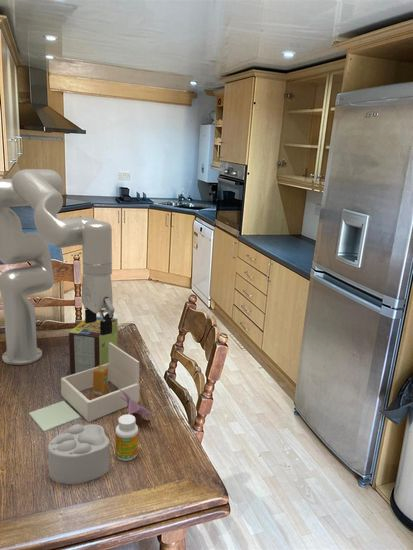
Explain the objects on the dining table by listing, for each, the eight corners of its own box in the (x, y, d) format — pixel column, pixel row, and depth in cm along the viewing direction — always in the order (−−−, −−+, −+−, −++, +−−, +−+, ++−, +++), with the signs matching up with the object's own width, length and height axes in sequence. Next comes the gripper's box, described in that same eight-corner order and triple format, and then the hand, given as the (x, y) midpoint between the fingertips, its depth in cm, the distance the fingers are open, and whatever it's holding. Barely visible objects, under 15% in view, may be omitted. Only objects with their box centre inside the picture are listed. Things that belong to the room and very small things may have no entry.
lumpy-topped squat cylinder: (112, 473, 98) (112, 441, 96) (53, 491, 92) (51, 457, 90) (100, 446, 107) (100, 415, 105) (45, 460, 101) (44, 428, 98)
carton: (61, 396, 127) (60, 356, 123) (110, 379, 138) (110, 342, 134) (88, 422, 115) (87, 379, 112) (139, 402, 126) (139, 362, 123)
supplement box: (103, 403, 125) (103, 372, 122) (92, 401, 125) (92, 370, 123) (108, 397, 128) (108, 366, 125) (97, 395, 129) (97, 364, 126)
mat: (28, 414, 118) (28, 412, 117) (63, 401, 124) (63, 400, 124) (44, 432, 111) (43, 430, 110) (80, 418, 117) (80, 416, 117)
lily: (154, 439, 112) (165, 403, 114) (111, 430, 107) (124, 392, 109) (139, 426, 123) (150, 393, 125) (100, 418, 118) (112, 383, 120)
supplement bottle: (119, 464, 101) (119, 428, 99) (112, 449, 106) (112, 415, 103) (140, 457, 104) (141, 422, 101) (133, 444, 108) (134, 410, 106)
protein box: (118, 359, 151) (118, 318, 147) (100, 381, 136) (99, 336, 132) (89, 355, 153) (89, 314, 148) (69, 376, 138) (67, 331, 134)
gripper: (71, 262, 118) (73, 320, 123) (98, 278, 106) (99, 342, 110) (96, 259, 123) (97, 315, 128) (125, 274, 110) (125, 336, 115)
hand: (98, 328), depth 119 cm, fingers open, 9 cm apart
